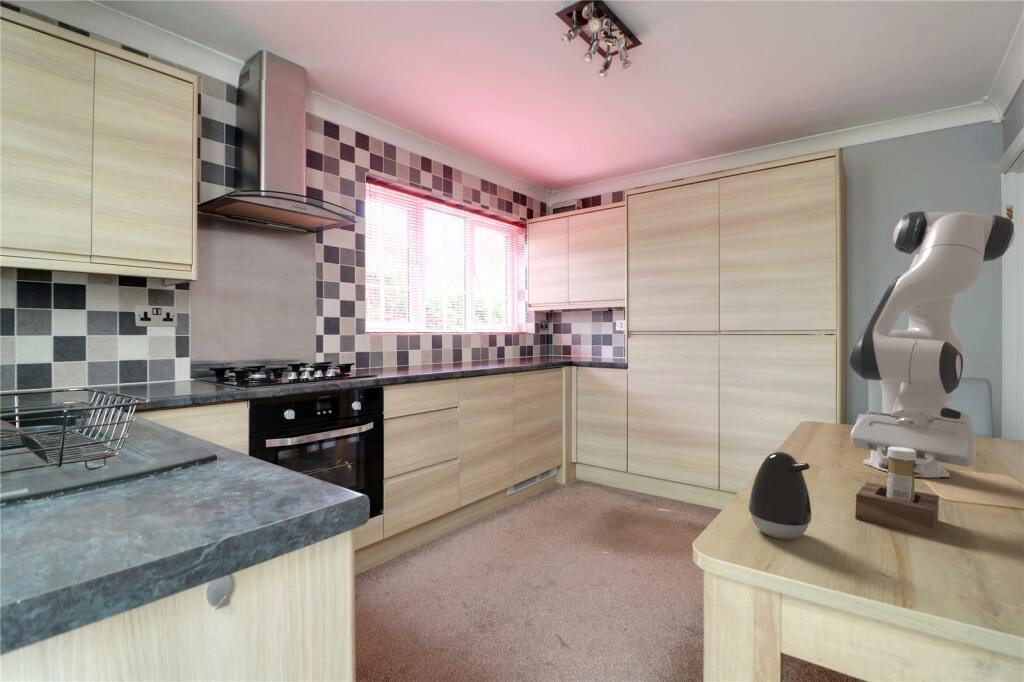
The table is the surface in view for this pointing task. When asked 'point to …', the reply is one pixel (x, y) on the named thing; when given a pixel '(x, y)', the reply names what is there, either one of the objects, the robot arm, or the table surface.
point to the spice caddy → (897, 510)
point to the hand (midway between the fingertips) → (900, 470)
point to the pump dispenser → (780, 497)
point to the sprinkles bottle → (901, 473)
